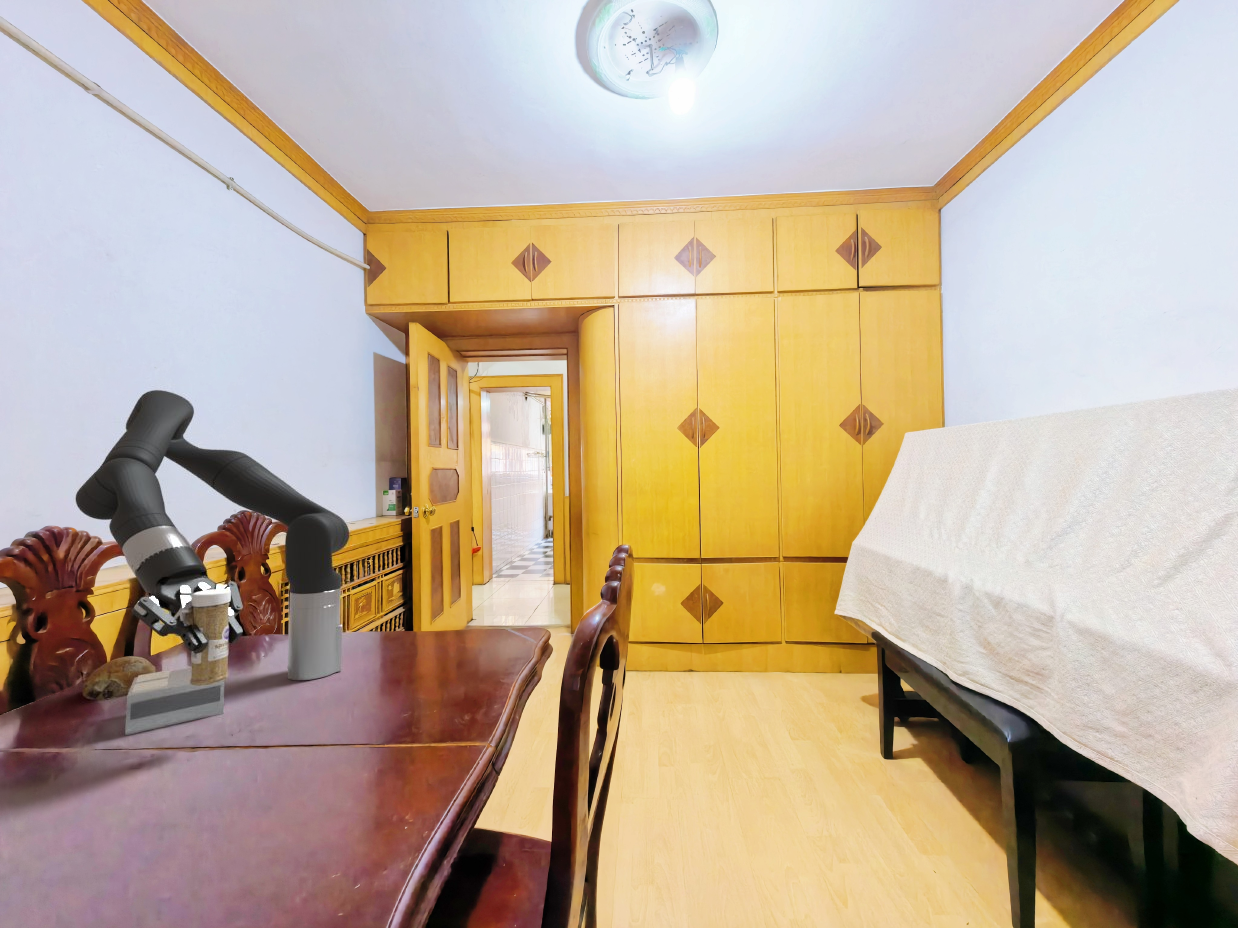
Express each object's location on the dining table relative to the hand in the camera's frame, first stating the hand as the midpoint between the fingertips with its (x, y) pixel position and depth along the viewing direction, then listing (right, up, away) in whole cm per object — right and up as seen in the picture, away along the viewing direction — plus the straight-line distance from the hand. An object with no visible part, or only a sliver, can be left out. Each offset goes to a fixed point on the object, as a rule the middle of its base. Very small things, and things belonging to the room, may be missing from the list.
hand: (219, 643), depth 75 cm
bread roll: (-36, -17, +21) cm, 45 cm away
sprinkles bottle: (-2, -6, 0) cm, 6 cm away
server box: (-16, -16, +11) cm, 25 cm away
